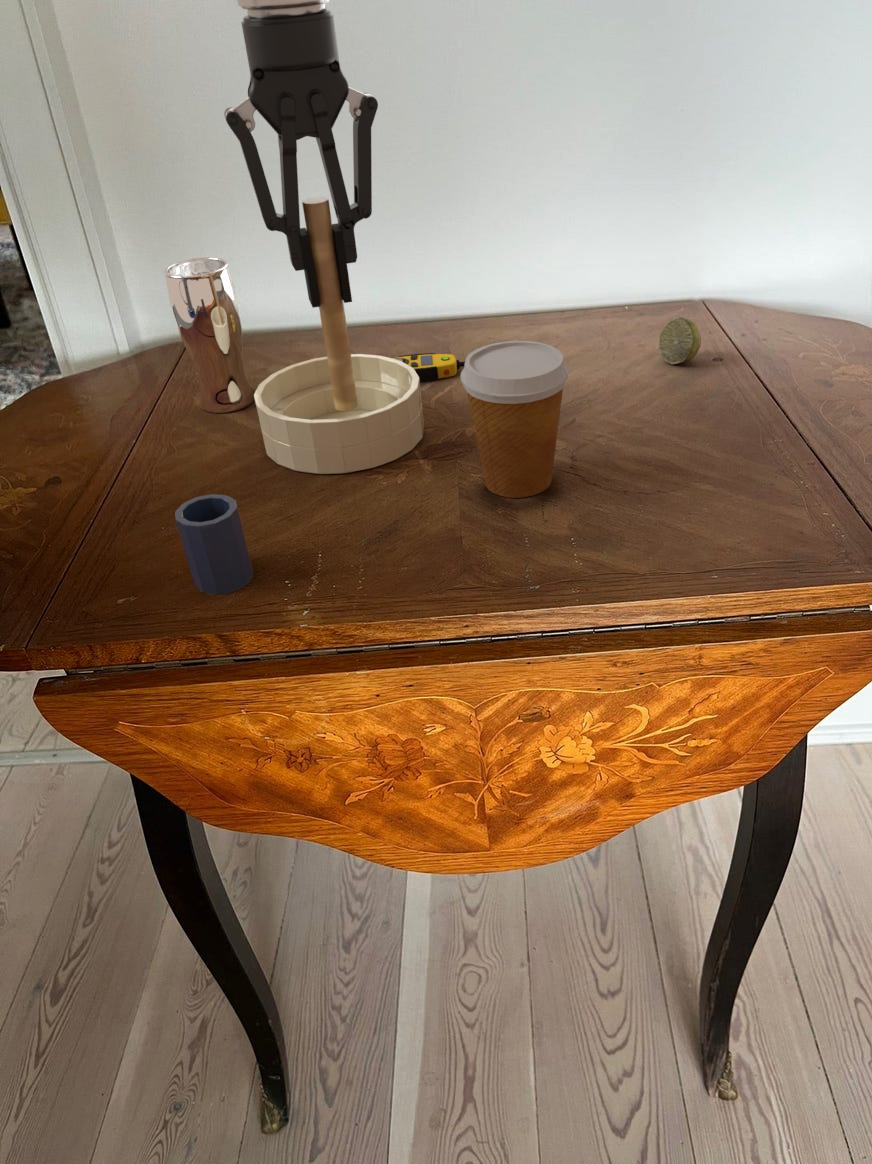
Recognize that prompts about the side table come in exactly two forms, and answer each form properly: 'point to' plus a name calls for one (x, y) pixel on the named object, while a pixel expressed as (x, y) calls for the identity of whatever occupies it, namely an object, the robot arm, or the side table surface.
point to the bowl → (340, 416)
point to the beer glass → (210, 330)
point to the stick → (331, 302)
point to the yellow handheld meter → (432, 365)
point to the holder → (214, 543)
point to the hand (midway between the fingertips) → (330, 299)
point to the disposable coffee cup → (516, 413)
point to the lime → (679, 341)
